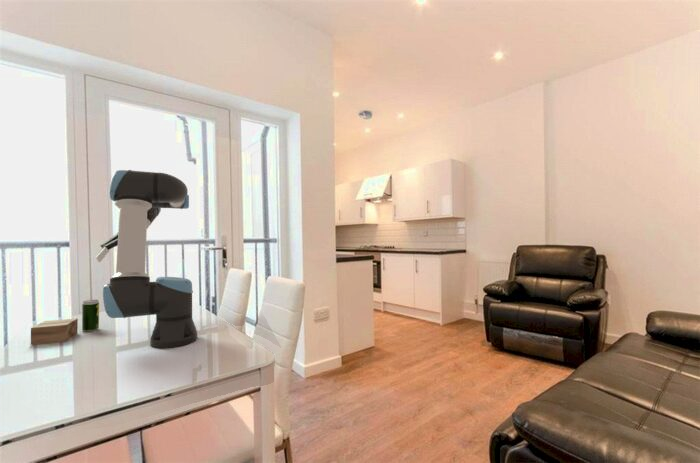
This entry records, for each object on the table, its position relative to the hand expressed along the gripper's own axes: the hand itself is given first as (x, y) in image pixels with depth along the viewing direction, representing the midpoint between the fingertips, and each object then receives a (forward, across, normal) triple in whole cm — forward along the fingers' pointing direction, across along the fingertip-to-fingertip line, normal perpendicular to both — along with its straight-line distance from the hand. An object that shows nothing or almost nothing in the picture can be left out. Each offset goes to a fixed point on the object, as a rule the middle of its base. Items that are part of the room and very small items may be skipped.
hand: (111, 260), depth 142 cm
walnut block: (+35, +2, -4) cm, 35 cm away
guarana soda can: (+27, 0, -13) cm, 30 cm away
